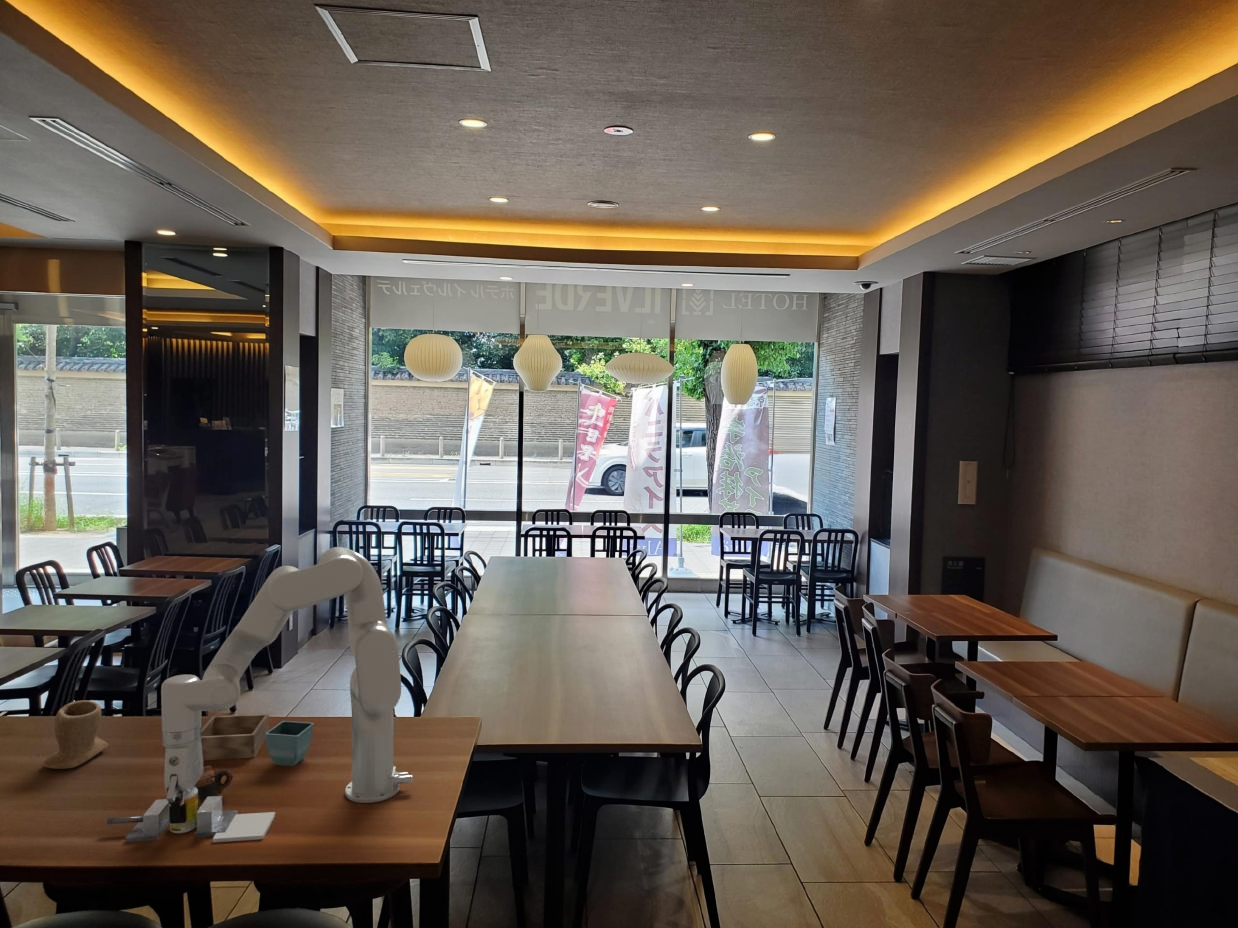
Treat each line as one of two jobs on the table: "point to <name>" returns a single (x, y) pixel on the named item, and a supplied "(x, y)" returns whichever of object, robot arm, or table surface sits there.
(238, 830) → the white coaster
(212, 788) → the pottery mug
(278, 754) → the flower pot
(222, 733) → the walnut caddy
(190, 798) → the supplement bottle
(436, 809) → the table surface
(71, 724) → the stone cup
